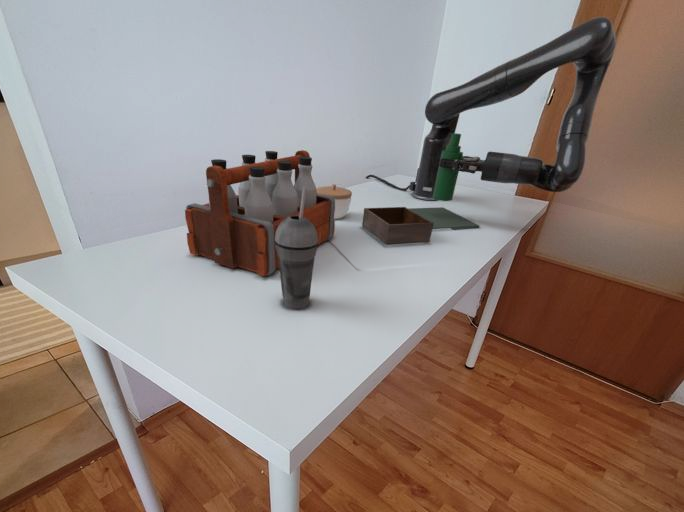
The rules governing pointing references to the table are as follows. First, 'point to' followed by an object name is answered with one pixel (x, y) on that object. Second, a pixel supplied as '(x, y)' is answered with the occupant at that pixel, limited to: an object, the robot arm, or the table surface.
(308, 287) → the beverage cup
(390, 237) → the open wooden box
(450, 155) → the bottle
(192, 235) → the milk bottle holder
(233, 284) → the table surface
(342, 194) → the trinket box
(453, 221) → the mat
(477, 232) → the table surface
